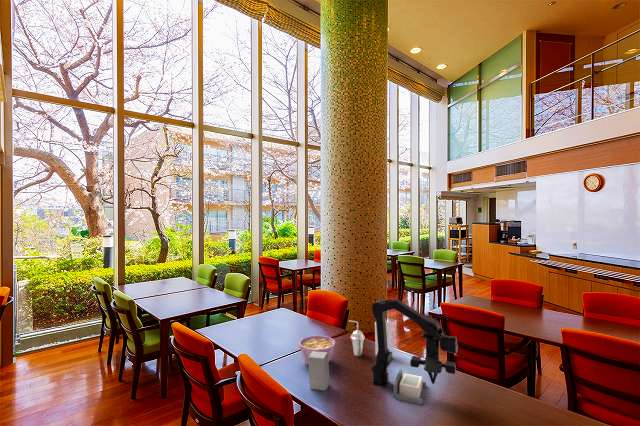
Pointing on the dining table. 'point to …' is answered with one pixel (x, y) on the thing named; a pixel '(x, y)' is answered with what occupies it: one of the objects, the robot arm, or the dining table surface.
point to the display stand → (405, 397)
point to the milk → (387, 337)
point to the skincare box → (318, 370)
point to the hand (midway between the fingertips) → (433, 383)
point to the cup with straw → (357, 341)
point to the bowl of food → (316, 346)
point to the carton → (411, 385)
